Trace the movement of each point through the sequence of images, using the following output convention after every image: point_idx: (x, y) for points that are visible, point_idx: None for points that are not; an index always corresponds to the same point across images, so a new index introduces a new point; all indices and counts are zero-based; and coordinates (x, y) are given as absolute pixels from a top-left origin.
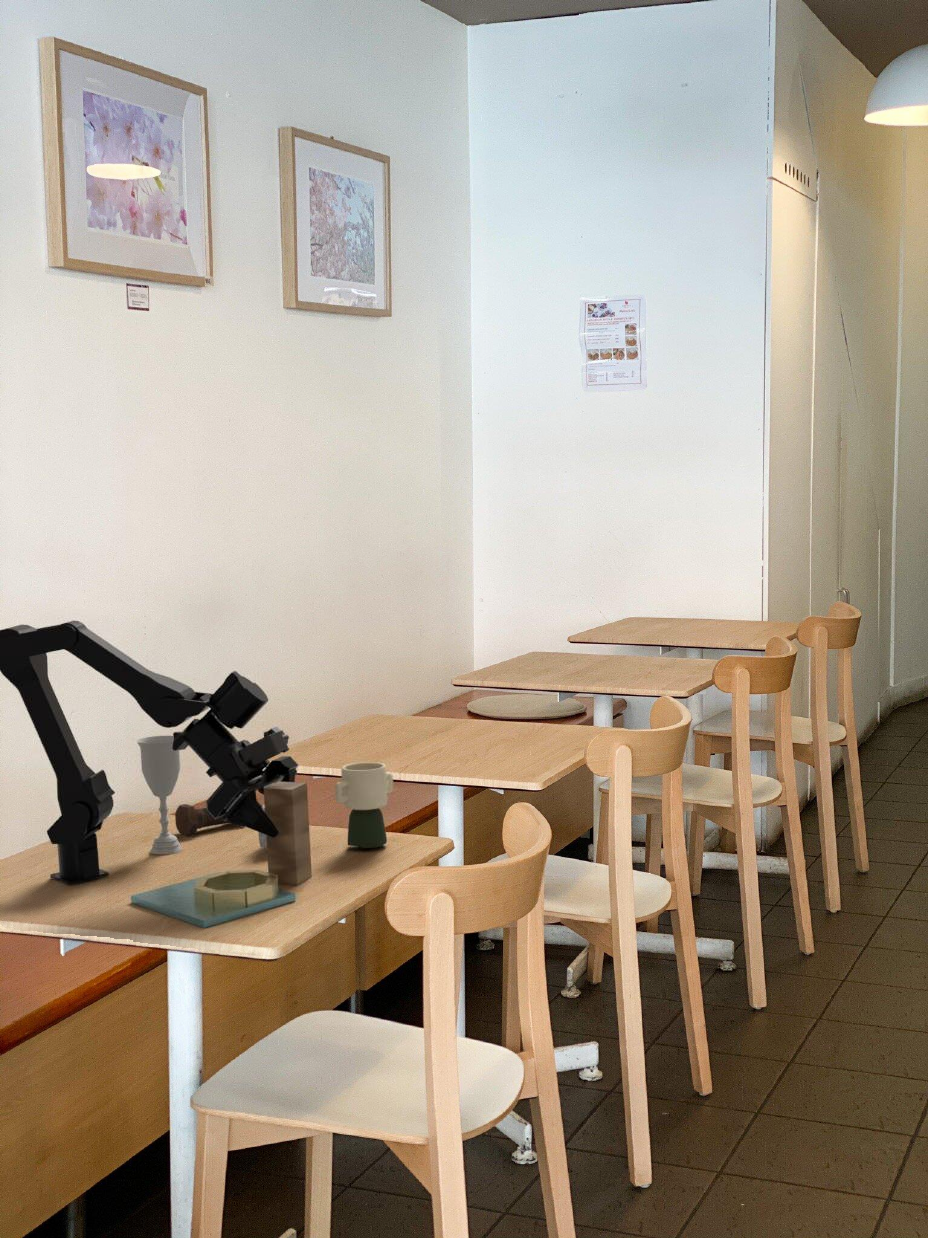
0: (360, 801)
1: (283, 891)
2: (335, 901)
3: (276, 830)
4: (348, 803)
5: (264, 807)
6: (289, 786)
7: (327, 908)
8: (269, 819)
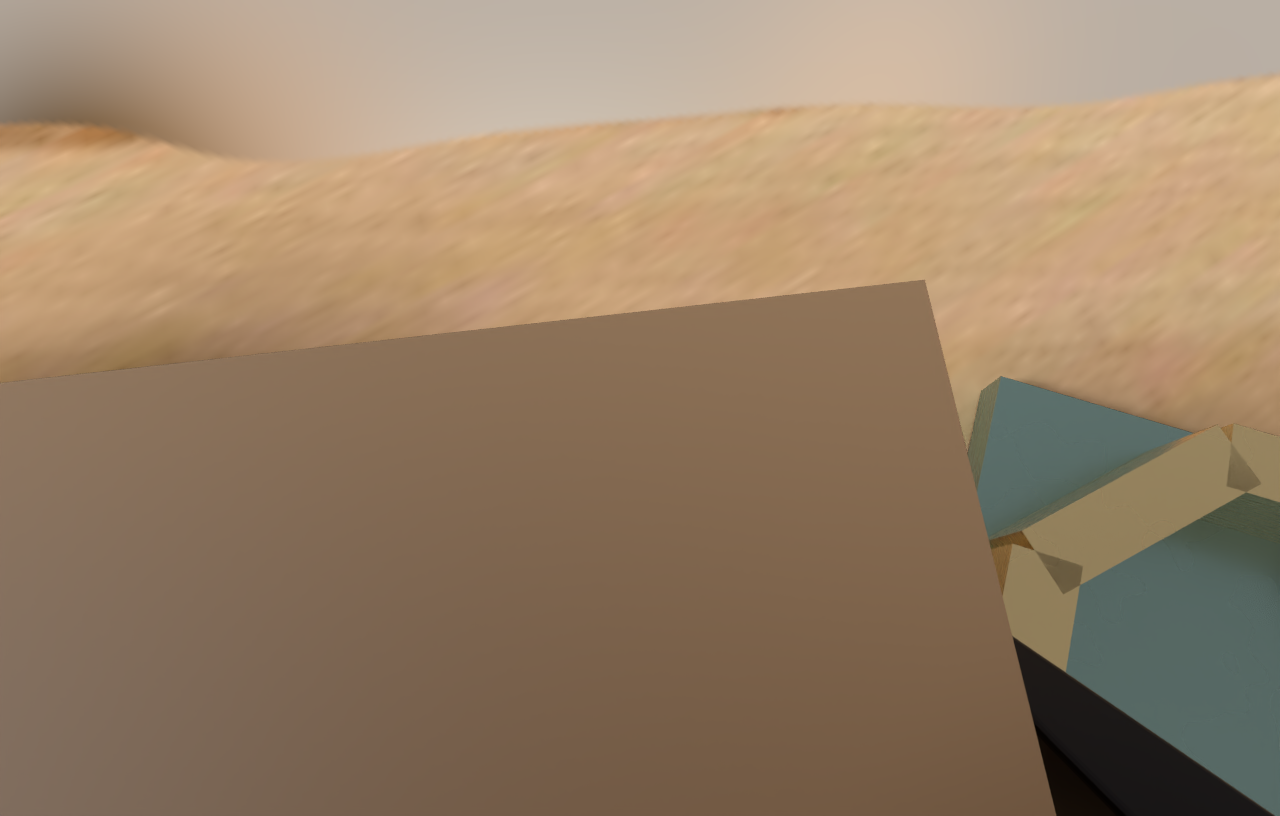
0: None
1: (998, 479)
2: (877, 182)
3: (1020, 642)
4: None
5: None
6: (385, 796)
7: (1001, 157)
8: (1145, 795)
